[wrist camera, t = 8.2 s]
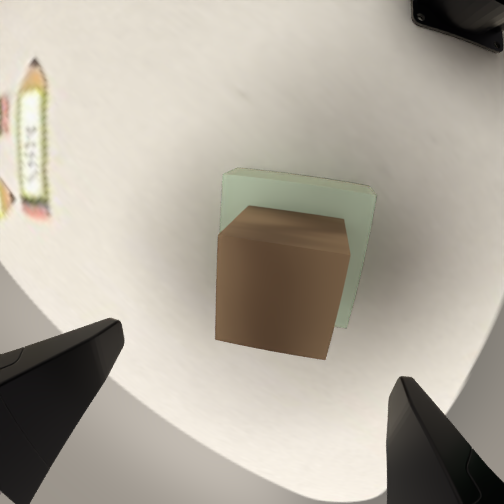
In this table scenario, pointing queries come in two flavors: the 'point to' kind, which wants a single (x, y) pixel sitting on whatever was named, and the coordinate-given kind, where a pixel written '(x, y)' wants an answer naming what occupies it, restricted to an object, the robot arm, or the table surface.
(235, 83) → the table surface
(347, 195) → the platform
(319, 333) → the walnut cube
